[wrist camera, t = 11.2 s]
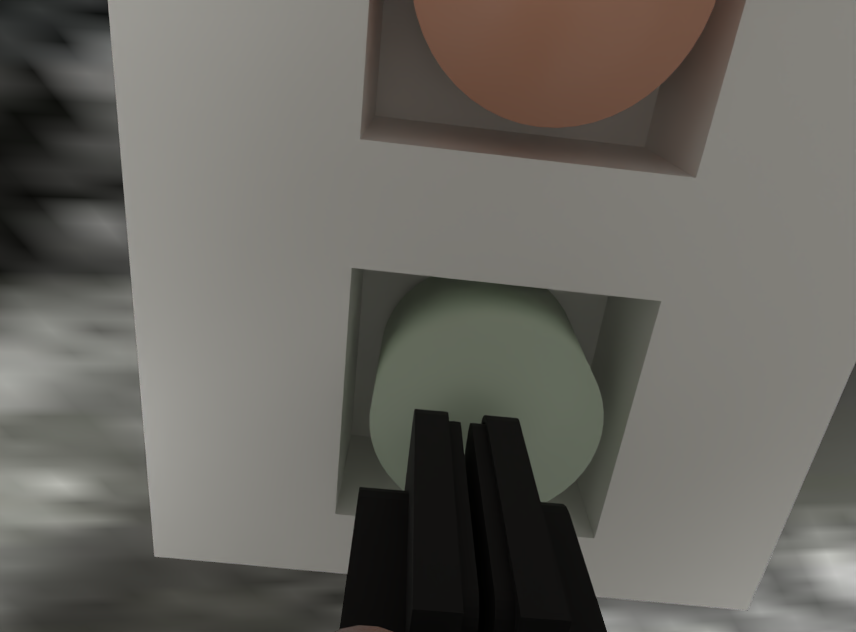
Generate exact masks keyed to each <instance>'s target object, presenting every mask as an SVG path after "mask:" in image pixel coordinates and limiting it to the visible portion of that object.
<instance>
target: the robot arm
mask: <svg viewBox="0 0 856 632" xmlns="http://www.w3.org/2000/svg"><path fill="white" fill-rule="evenodd" d="M335 632H607V630H606V627H605V624H604V621H603V617H602V614H601V611H600V608H599V605H598V602H597V598H596V595H595V592H594V589H593V586H592V583H591V579H590V576H589V573H588V570H587V567H586V564H585V560H584V557H583V554H582V551H581V548H580V545H579V542H578V538H577V535H576V532H575V529H574V526H573V523H572V519H571V516H570V513H569V511H568V509H567V507H566V506H565V505H564V504H559V503H547V502H540V498H539V494H538V490H537V486H536V482H535V479H534V475H533V471H532V467H531V463H530V459H529V456H528V452H527V448H526V444H525V440H524V436H523V433H522V429H521V425H520V421H519V419H518V418H512V417H501V416H490V415H484V416H483V418H482V422H481V424H479V423H470V425H469V429H468V435H467V441H466V448H465V454H464V447H463V438H462V428H461V422H456V421H449V414H448V412H445V411H434V410H423V409H414V415H413V422H412V431H411V439H410V448H409V456H408V465H407V473H406V482H405V490H404V491H403V490H391V489H379V488H367V487H359V493H358V500H357V507H356V514H355V522H354V529H353V536H352V544H351V551H350V558H349V566H348V573H347V580H346V587H345V595H344V602H343V609H342V617H341V624H340V629H339V630H337V631H335Z"/></svg>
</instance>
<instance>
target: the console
mask: <svg viewBox="0 0 856 632" xmlns="http://www.w3.org/2000/svg"><path fill="white" fill-rule="evenodd" d="M108 8H109V20H110V32H111V44H112V56H113V68H114V80H115V92H116V104H117V116H118V128H119V140H120V152H121V164H122V176H123V188H124V200H125V212H126V224H127V236H128V248H129V260H130V272H131V284H132V296H133V308H134V319H135V331H136V343H137V355H138V367H139V379H140V391H141V403H142V415H143V427H144V439H145V451H146V463H147V475H148V487H149V499H150V511H151V523H152V535H153V547H154V557H164V558H175V559H186V560H197V561H208V562H219V563H230V564H241V565H252V566H263V567H274V568H285V569H296V570H307V571H318V572H329V573H340V574H347V573H348V566H349V558H350V551H351V544H352V536H353V529H354V522H355V514H356V507H357V500H358V493H359V487H367V488H379V489H391V490H403V489H401V488H400V487H399V486H398V485H397V484H396V483H395V482H394V481H393V480H392V479H391V477H390V476H389V475H388V474H387V472H386V471H385V469H384V468H383V466H382V465H381V463H380V461H379V459H378V457H377V455H376V453H375V450H374V447H373V444H372V440H371V434H370V409H371V403H372V397H373V391H374V385H375V379H376V374H377V368H378V362H379V356H380V350H381V344H382V338H383V333H384V330H385V327H386V324H387V321H388V319H389V317H390V315H391V313H392V312H393V310H394V309H395V307H396V306H397V304H398V303H399V301H400V300H401V299H402V298H403V297H404V296H405V295H406V294H407V293H408V292H409V291H410V290H411V289H412V288H414V287H415V286H416V285H417V284H419V283H420V282H422V281H423V280H425V279H427V278H428V277H430V276H432V277H441V278H451V279H460V280H469V281H479V282H488V283H497V284H506V285H516V286H525V287H534V288H543V289H548V290H549V291H550V292H551V293H552V294H553V296H554V297H555V298H556V299H557V300H558V302H559V303H560V305H561V306H562V308H563V309H564V311H565V313H566V315H567V317H568V319H569V321H570V324H571V326H572V328H573V330H574V333H575V335H576V337H577V339H578V342H579V344H580V346H581V348H582V351H583V353H584V355H585V357H586V360H587V362H588V364H589V366H590V368H591V371H592V373H593V375H594V377H595V380H596V382H597V384H598V387H599V390H600V393H601V397H602V402H603V410H604V420H603V429H602V435H601V439H600V442H599V445H598V448H597V450H596V452H595V454H594V456H593V458H592V460H591V462H590V463H589V465H588V466H587V468H586V469H585V470H584V472H583V473H582V474H581V475H580V476H579V477H578V479H577V480H576V481H575V482H574V483H573V484H572V485H570V486H569V487H568V488H567V489H566V490H564V491H563V492H562V493H560V494H559V495H557V496H556V497H554V498H553V499H551V500H549V501H547V503H559V504H564V505H565V506H566V507H567V509H568V511H569V513H570V516H571V519H572V523H573V526H574V529H575V532H576V535H577V538H578V542H579V545H580V548H581V551H582V554H583V557H584V560H585V564H586V567H587V570H588V573H589V576H590V579H591V583H592V586H593V589H594V592H595V595H596V597H603V598H614V599H625V600H636V601H647V602H658V603H669V604H680V605H691V606H702V607H713V608H724V609H735V610H746V611H748V609H749V606H750V604H751V602H752V599H753V597H754V595H755V592H756V590H757V588H758V586H759V583H760V581H761V579H762V576H763V574H764V572H765V569H766V567H767V565H768V563H769V560H770V558H771V556H772V553H773V551H774V549H775V546H776V544H777V542H778V540H779V537H780V535H781V533H782V530H783V528H784V526H785V523H786V521H787V519H788V516H789V514H790V512H791V510H792V507H793V505H794V503H795V500H796V498H797V496H798V493H799V491H800V489H801V487H802V484H803V482H804V480H805V477H806V475H807V473H808V470H809V468H810V466H811V464H812V461H813V459H814V457H815V454H816V452H817V450H818V447H819V445H820V443H821V441H822V438H823V436H824V434H825V431H826V429H827V427H828V424H829V422H830V420H831V417H832V415H833V413H834V411H835V408H836V406H837V404H838V401H839V399H840V397H841V394H842V392H843V390H844V388H845V385H846V383H847V381H848V378H849V376H850V374H851V371H852V369H853V367H854V365H855V362H856V0H716V2H715V5H714V8H713V10H712V12H711V14H710V17H709V19H708V21H707V23H706V25H705V28H704V30H703V31H702V33H701V35H700V36H699V38H698V40H697V41H696V43H695V45H694V46H693V48H692V49H691V51H690V52H689V53H688V55H687V56H686V57H685V59H684V60H683V61H682V63H681V64H680V65H679V67H678V68H677V69H676V70H675V71H674V72H673V73H672V74H671V75H670V76H669V77H668V78H667V79H666V80H665V81H664V82H663V83H662V84H661V85H660V86H659V87H657V88H656V89H655V90H654V91H653V92H651V93H650V94H649V95H648V96H646V97H645V98H643V99H642V100H640V101H639V102H637V103H636V104H634V105H633V106H631V107H629V108H627V109H625V110H623V111H621V112H619V113H617V114H615V115H613V116H611V117H608V118H605V119H602V120H599V121H597V122H593V123H589V124H584V125H580V126H573V127H562V128H549V127H536V126H531V125H525V124H520V123H517V122H514V121H511V120H508V119H505V118H502V117H500V116H498V115H496V114H494V113H492V112H490V111H488V110H486V109H485V108H483V107H482V106H480V105H479V104H477V103H476V102H474V101H473V100H471V99H470V98H469V97H468V96H467V95H466V94H465V93H463V92H462V91H461V90H460V89H459V88H458V87H457V86H456V85H455V84H454V83H453V82H452V81H451V79H450V78H449V77H448V76H447V75H446V73H445V72H444V71H443V70H442V68H441V67H440V65H439V63H438V62H437V60H436V59H435V57H434V56H433V54H432V52H431V50H430V48H429V46H428V44H427V42H426V40H425V38H424V36H423V33H422V30H421V27H420V24H419V21H418V18H417V15H416V11H415V6H414V1H413V0H108ZM403 491H404V490H403Z"/></svg>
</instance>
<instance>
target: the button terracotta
mask: <svg viewBox="0 0 856 632" xmlns="http://www.w3.org/2000/svg"><path fill="white" fill-rule="evenodd" d="M413 1H414V6H415V11H416V15H417V18H418V21H419V24H420V27H421V30H422V33H423V36H424V38H425V40H426V42H427V44H428V46H429V48H430V50H431V52H432V54H433V56H434V57H435V59H436V60H437V62H438V63H439V65H440V67H441V68H442V70H443V71H444V72H445V73H446V75H447V76H448V77H449V78H450V79H451V81H452V82H453V83H454V84H455V85H456V86H457V87H458V88H459V89H460V90H461V91H462V92H463V93H465V94H466V95H467V96H468V97H469V98H470V99H471V100H473V101H474V102H476V103H477V104H479V105H480V106H482V107H483V108H485V109H486V110H488V111H490V112H492V113H494V114H496V115H498V116H500V117H502V118H505V119H508V120H511V121H514V122H517V123H520V124H525V125H531V126H536V127H549V128H562V127H573V126H580V125H584V124H589V123H593V122H597V121H599V120H602V119H605V118H608V117H611V116H613V115H615V114H617V113H619V112H621V111H623V110H625V109H627V108H629V107H631V106H633V105H634V104H636V103H637V102H639V101H640V100H642V99H643V98H645V97H646V96H648V95H649V94H650V93H651V92H653V91H654V90H655V89H656V88H657V87H659V86H660V85H661V84H662V83H663V82H664V81H665V80H666V79H667V78H668V77H669V76H670V75H671V74H672V73H673V72H674V71H675V70H676V69H677V68H678V67H679V65H680V64H681V63H682V61H683V60H684V59H685V57H686V56H687V55H688V53H689V52H690V51H691V49H692V48H693V46H694V45H695V43H696V41H697V40H698V38H699V36H700V35H701V33H702V31H703V30H704V28H705V25H706V23H707V21H708V19H709V17H710V14H711V12H712V10H713V8H714V5H715V2H716V0H413Z"/></svg>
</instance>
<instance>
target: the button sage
mask: <svg viewBox="0 0 856 632" xmlns="http://www.w3.org/2000/svg"><path fill="white" fill-rule="evenodd" d="M414 409H423V410H434V411H445V412H448V414H449V421H456V422H461V428H462V438H463V447H464V454H465V448H466V441H467V435H468V429H469V425H470V423H479V424H481V422H482V418H483V416H484V415H490V416H501V417H512V418H518V419H519V421H520V425H521V429H522V433H523V436H524V440H525V444H526V448H527V452H528V456H529V459H530V463H531V467H532V471H533V475H534V479H535V482H536V486H537V490H538V494H539V498H540V502H547V501H549V500H551V499H553V498H554V497H556V496H557V495H559V494H560V493H562V492H563V491H564V490H566V489H567V488H568V487H569V486H570V485H572V484H573V483H574V482H575V481H576V480H577V479H578V477H579V476H580V475H581V474H582V473H583V472H584V470H585V469H586V468H587V466H588V465H589V463H590V462H591V460H592V458H593V456H594V454H595V452H596V450H597V448H598V445H599V442H600V439H601V435H602V429H603V420H604V410H603V402H602V397H601V393H600V390H599V387H598V384H597V382H596V380H595V377H594V375H593V373H592V371H591V368H590V366H589V364H588V362H587V360H586V357H585V355H584V353H583V351H582V348H581V346H580V344H579V342H578V339H577V337H576V335H575V333H574V330H573V328H572V326H571V324H570V321H569V319H568V317H567V315H566V313H565V311H564V309H563V308H562V306H561V305H560V303H559V302H558V300H557V299H556V298H555V297H554V296H553V294H552V293H551V292H550V291H549V290H548V289H543V288H534V287H525V286H516V285H506V284H497V283H488V282H479V281H469V280H460V279H451V278H441V277H432V276H430V277H428V278H427V279H425V280H423V281H422V282H420V283H419V284H417V285H416V286H415V287H414V288H412V289H411V290H410V291H409V292H408V293H407V294H406V295H405V296H404V297H403V298H402V299H401V300H400V301H399V303H398V304H397V306H396V307H395V309H394V310H393V312H392V313H391V315H390V317H389V319H388V321H387V324H386V327H385V330H384V333H383V338H382V344H381V350H380V356H379V362H378V368H377V374H376V379H375V385H374V391H373V397H372V403H371V409H370V434H371V440H372V444H373V447H374V450H375V453H376V455H377V457H378V459H379V461H380V463H381V465H382V466H383V468H384V469H385V471H386V472H387V474H388V475H389V476H390V477H391V479H392V480H393V481H394V482H395V483H396V484H397V485H398V486H399V487H400V488H401V489H403V490H405V482H406V473H407V465H408V456H409V448H410V439H411V431H412V422H413V415H414Z"/></svg>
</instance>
